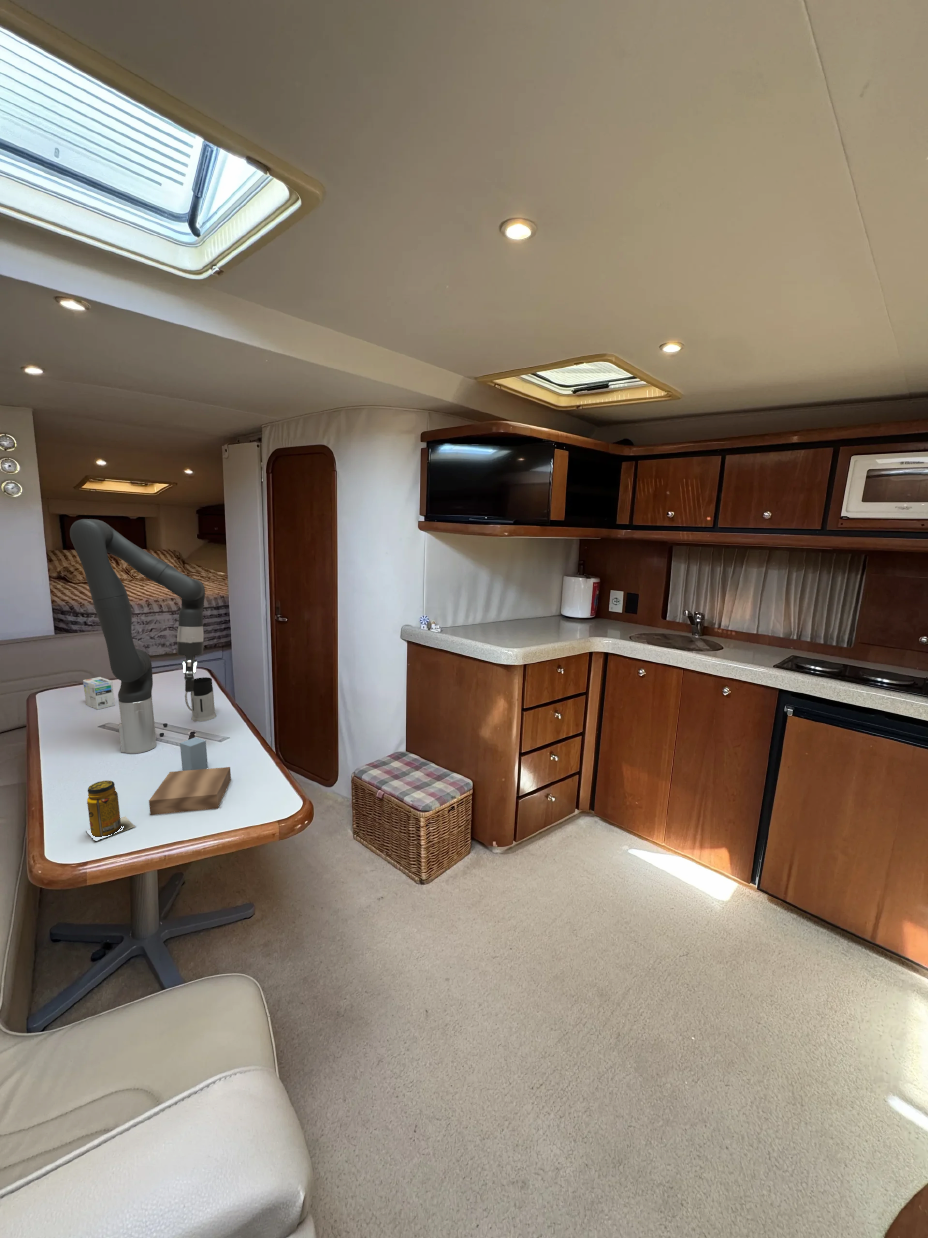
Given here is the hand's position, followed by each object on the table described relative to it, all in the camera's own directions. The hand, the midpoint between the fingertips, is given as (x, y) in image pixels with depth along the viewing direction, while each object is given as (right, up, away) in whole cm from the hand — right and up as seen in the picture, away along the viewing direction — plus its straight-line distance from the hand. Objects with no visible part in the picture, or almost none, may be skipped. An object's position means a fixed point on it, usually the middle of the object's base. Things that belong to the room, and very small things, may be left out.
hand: (189, 689), depth 168 cm
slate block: (+8, -23, -12) cm, 27 cm away
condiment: (+4, -29, -43) cm, 52 cm away
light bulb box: (-60, -13, +43) cm, 75 cm away
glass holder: (-11, -16, +28) cm, 34 cm away
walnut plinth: (+16, -26, -27) cm, 41 cm away
